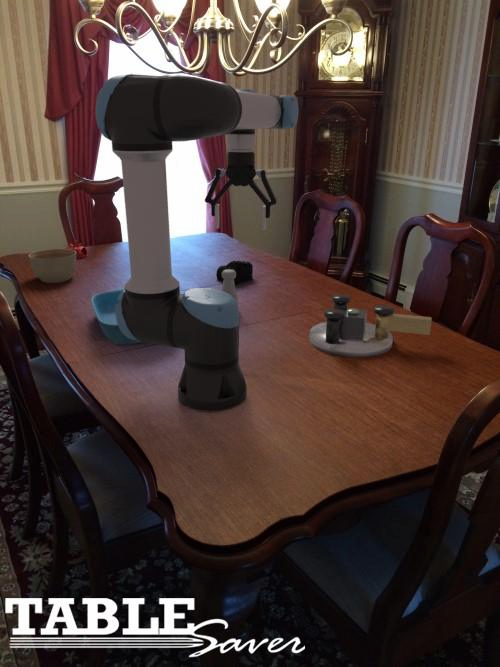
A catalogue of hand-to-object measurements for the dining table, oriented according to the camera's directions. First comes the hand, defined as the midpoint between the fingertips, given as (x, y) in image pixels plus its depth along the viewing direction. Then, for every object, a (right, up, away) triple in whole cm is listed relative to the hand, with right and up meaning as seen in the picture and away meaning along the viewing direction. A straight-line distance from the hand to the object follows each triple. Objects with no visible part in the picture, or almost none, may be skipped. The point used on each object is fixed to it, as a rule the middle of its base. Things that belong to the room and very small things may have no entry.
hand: (240, 228), depth 159 cm
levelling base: (+30, -32, -9) cm, 45 cm away
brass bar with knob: (+42, -31, -13) cm, 54 cm away
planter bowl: (-67, -12, +41) cm, 79 cm away
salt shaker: (-4, -23, +13) cm, 27 cm away
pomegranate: (-69, -1, +69) cm, 98 cm away
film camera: (-4, -12, +42) cm, 44 cm away
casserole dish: (-30, -28, 0) cm, 41 cm away
